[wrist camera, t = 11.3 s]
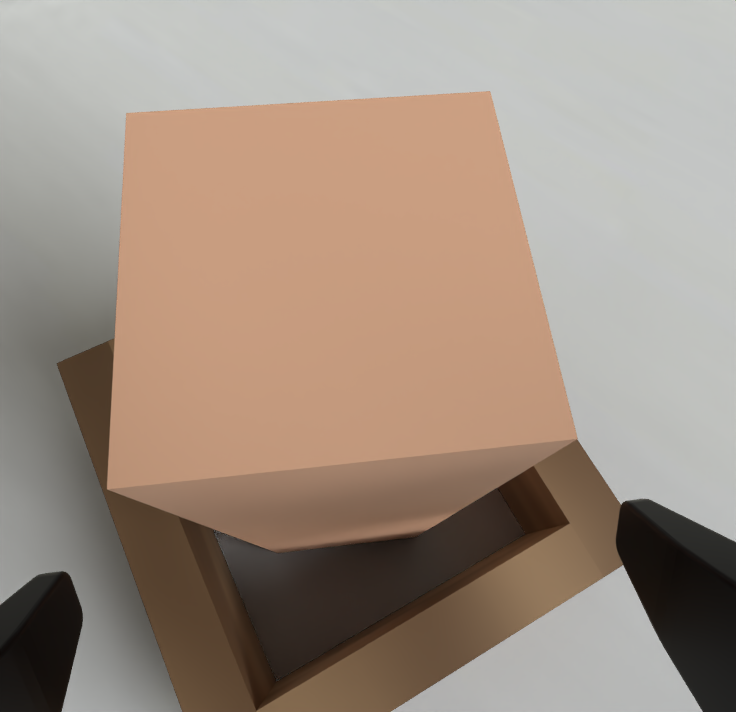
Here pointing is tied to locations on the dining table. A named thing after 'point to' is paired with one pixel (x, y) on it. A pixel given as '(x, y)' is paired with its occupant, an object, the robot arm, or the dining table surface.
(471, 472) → the terracotta peg
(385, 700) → the walnut well holder
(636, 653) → the dining table surface
